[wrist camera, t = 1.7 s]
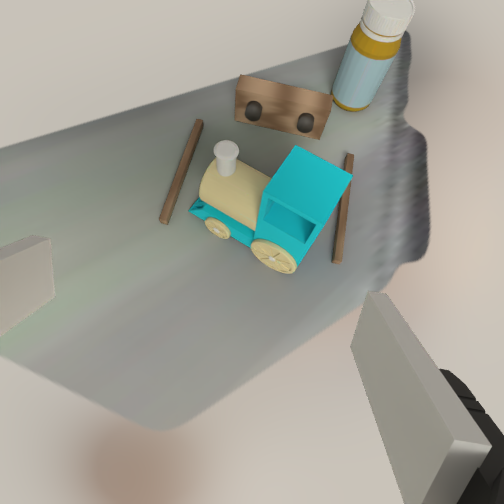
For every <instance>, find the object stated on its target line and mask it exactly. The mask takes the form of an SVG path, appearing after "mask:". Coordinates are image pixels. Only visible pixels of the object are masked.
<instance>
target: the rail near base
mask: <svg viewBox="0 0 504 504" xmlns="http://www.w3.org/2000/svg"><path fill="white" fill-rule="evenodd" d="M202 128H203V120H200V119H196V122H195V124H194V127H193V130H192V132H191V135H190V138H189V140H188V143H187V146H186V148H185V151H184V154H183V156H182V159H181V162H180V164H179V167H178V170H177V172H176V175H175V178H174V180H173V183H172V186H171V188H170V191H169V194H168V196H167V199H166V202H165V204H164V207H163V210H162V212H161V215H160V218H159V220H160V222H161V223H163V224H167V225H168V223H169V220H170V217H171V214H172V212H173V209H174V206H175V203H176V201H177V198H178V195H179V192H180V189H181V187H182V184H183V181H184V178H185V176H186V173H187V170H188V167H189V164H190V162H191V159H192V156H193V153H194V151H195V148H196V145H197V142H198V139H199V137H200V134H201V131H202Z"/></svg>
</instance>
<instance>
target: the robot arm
mask: <svg viewBox="0 0 504 504" xmlns="http://www.w3.org/2000/svg"><path fill="white" fill-rule="evenodd" d="M53 298H55V286H54V275H53V263H52V252H51V240H50V238H46V237H40V236H34V235H32V236H29V237H27V238H24V239H22V240H19V241H17V242H14V243H12V244H9V245H7V246H4V247H2V248H0V336H2V335H3V334H4V333H6V332H7V331H9V330H10V329H11V328H13V327H14V326H16V325H17V324H18V323H20V322H21V321H23V320H24V319H25V318H27V317H28V316H29V315H31V314H32V313H34V312H35V311H36V310H38V309H39V308H41V307H42V306H43V305H45V304H46V303H48V302H49V301H50V300H52V299H53ZM350 347H351V350H352V352H353V356H354V359H355V362H356V365H357V368H358V371H359V373H360V376H361V379H362V382H363V385H364V388H365V391H366V394H367V397H368V400H369V403H370V405H371V408H372V411H373V414H374V417H375V420H376V423H377V426H378V429H379V432H380V434H381V437H382V440H383V443H384V446H385V449H386V452H387V455H388V457H389V461H390V464H391V466H392V469H393V472H394V475H395V478H396V481H397V484H398V487H399V490H400V493H401V495H402V498H403V501H404V504H504V435H503V434H502V432H501V431H500V430H499V428H498V427H497V426H496V424H495V423H494V422H493V420H492V419H491V418H490V416H489V415H488V414H485V410H484V408H483V407H482V406H481V405H480V403H479V402H478V401H476V398H475V397H474V395H473V394H472V393H471V391H470V390H469V389H468V387H467V386H466V385H465V384H464V383H463V382H462V381H461V380H460V379H459V378H457V377H456V376H455V375H454V374H453V373H451V372H450V371H449V370H443V369H438V367H437V366H436V364H435V363H434V361H433V360H432V359H431V357H430V356H429V354H428V353H427V351H426V350H425V348H424V347H423V346H422V344H421V343H420V341H419V340H418V338H417V337H416V335H415V334H414V333H413V331H412V330H411V328H410V327H409V325H408V324H407V322H406V321H405V320H404V318H403V317H402V315H401V314H400V312H399V311H398V309H397V308H396V307H395V305H394V304H393V302H392V301H391V299H390V298H389V296H388V295H387V294H384V293H378V292H372V291H368V292H367V295H366V298H365V301H364V304H363V308H362V311H361V314H360V318H359V321H358V324H357V327H356V330H355V334H354V337H353V340H352V343H351V346H350Z"/></svg>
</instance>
